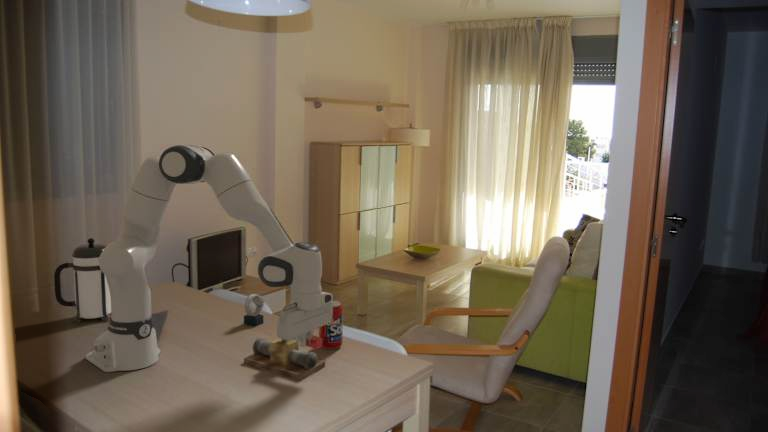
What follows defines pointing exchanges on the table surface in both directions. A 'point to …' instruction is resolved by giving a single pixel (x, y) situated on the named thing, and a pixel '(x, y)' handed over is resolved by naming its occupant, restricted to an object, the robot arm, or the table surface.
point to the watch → (255, 317)
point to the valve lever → (312, 341)
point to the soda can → (333, 328)
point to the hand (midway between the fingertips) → (305, 345)
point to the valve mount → (284, 358)
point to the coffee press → (86, 283)
